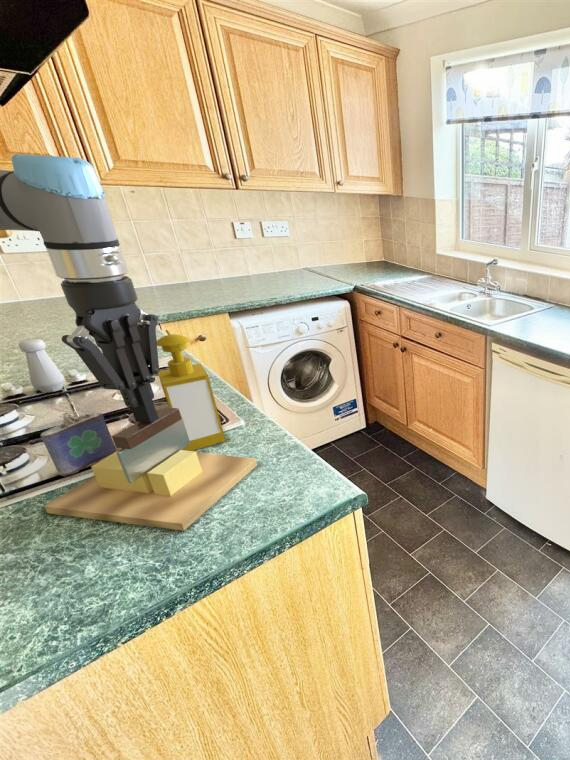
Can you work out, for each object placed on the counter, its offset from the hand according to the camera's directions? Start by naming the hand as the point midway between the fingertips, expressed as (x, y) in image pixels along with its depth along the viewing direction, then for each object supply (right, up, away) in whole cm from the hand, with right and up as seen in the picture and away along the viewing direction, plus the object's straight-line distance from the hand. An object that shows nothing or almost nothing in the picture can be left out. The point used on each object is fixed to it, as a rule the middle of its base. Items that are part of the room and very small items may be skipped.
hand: (147, 420), depth 70 cm
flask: (-21, -9, +11) cm, 26 cm away
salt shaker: (-56, +5, +36) cm, 67 cm away
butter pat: (+1, -12, +5) cm, 13 cm away
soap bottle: (-8, -5, +22) cm, 24 cm away
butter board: (-3, -13, +6) cm, 14 cm away
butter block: (-6, -11, +6) cm, 14 cm away
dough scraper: (-1, -8, +4) cm, 9 cm away
